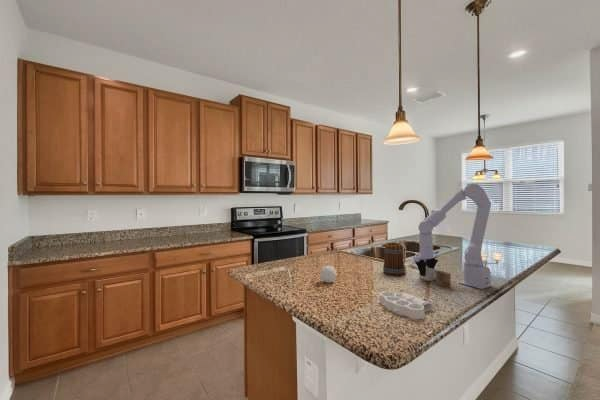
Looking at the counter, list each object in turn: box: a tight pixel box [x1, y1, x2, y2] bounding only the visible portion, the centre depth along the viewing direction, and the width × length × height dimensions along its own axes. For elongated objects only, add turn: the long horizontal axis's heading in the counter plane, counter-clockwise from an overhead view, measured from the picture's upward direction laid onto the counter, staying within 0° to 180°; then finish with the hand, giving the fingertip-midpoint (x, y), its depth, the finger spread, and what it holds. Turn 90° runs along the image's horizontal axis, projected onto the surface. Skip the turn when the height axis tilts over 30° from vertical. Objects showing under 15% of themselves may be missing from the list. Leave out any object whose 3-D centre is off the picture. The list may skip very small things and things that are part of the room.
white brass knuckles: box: [378, 291, 433, 320], centre depth 95 cm, size 3×18×15 cm
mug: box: [382, 241, 406, 277], centre depth 140 cm, size 16×11×15 cm
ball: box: [319, 265, 338, 284], centre depth 126 cm, size 8×8×8 cm
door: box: [434, 266, 438, 279], centre depth 125 cm, size 12×2×4 cm, turn 161°
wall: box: [435, 269, 452, 289], centre depth 116 cm, size 6×2×6 cm, turn 28°
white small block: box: [418, 266, 435, 282], centre depth 128 cm, size 5×4×5 cm
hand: (426, 274), depth 128 cm, fingers open, 5 cm apart
